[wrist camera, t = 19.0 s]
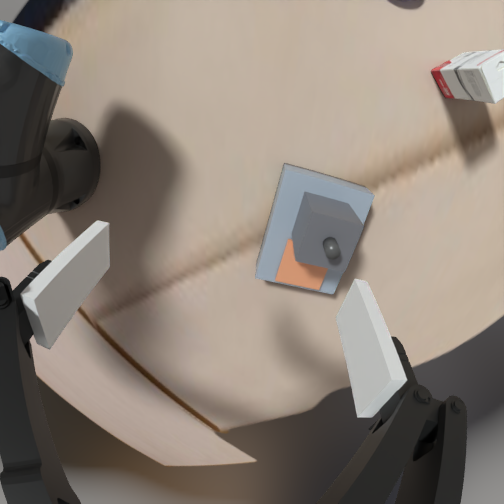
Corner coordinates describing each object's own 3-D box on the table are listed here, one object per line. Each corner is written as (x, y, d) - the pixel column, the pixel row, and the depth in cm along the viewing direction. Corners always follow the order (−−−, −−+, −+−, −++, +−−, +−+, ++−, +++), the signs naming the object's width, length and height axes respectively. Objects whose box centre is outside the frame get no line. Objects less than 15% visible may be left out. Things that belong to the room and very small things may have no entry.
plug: (289, 224, 41) (296, 271, 31) (301, 184, 38) (314, 219, 28) (329, 234, 42) (348, 282, 31) (343, 196, 39) (369, 233, 28)
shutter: (274, 279, 42) (275, 293, 39) (288, 238, 39) (289, 251, 36) (318, 288, 42) (321, 303, 39) (334, 249, 39) (339, 262, 36)
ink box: (444, 99, 31) (494, 106, 21) (429, 70, 29) (478, 67, 19) (478, 79, 28) (528, 83, 18) (464, 51, 26) (513, 48, 16)
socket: (256, 263, 46) (255, 278, 42) (283, 162, 38) (285, 169, 34) (329, 279, 46) (333, 294, 43) (365, 186, 39) (374, 195, 35)
